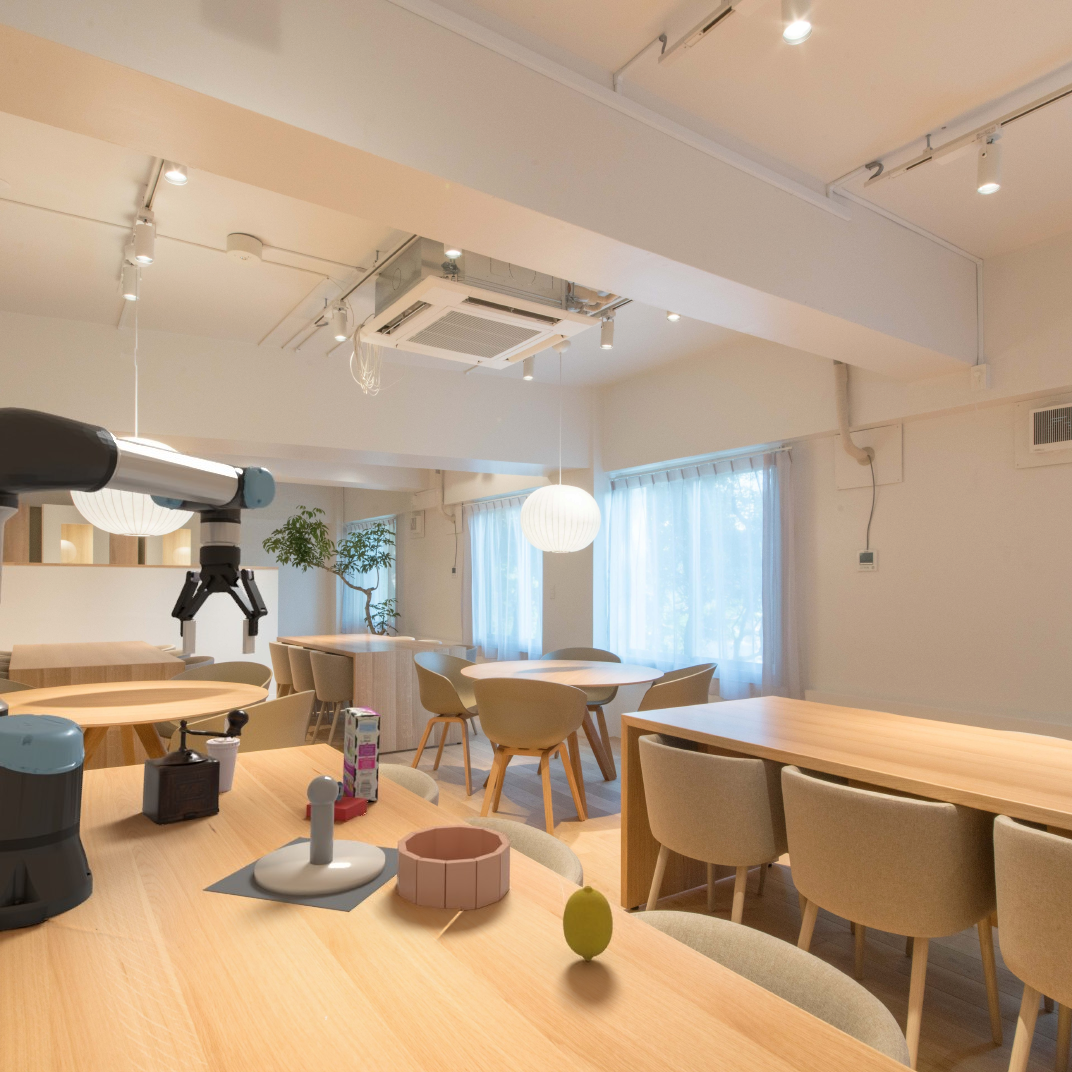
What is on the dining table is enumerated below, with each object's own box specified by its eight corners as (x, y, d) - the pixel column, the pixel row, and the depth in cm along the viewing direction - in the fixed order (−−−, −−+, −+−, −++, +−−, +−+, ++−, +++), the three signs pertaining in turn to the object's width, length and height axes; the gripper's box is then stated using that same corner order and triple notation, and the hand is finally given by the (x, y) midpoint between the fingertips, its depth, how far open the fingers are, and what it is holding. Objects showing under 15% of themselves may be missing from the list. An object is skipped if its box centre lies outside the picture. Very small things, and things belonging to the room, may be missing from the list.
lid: (343, 902, 97) (345, 798, 98) (225, 885, 102) (228, 786, 103) (406, 855, 114) (408, 766, 115) (302, 842, 119) (305, 757, 120)
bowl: (485, 917, 94) (486, 868, 95) (377, 902, 98) (378, 855, 99) (521, 873, 109) (522, 831, 109) (426, 862, 113) (426, 821, 113)
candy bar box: (379, 801, 144) (381, 714, 145) (353, 804, 142) (355, 716, 143) (366, 787, 154) (368, 705, 155) (341, 789, 152) (343, 707, 153)
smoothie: (226, 794, 147) (228, 722, 148) (196, 792, 149) (199, 720, 149) (245, 786, 154) (247, 716, 154) (216, 784, 155) (219, 715, 156)
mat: (349, 915, 95) (349, 911, 95) (202, 893, 101) (202, 889, 101) (424, 855, 116) (424, 851, 116) (299, 840, 122) (299, 837, 122)
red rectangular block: (306, 821, 133) (307, 784, 133) (328, 810, 139) (329, 775, 139) (345, 825, 130) (346, 788, 130) (366, 814, 136) (367, 778, 137)
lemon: (554, 965, 83) (554, 890, 83) (575, 944, 88) (575, 873, 88) (601, 978, 80) (601, 900, 81) (620, 955, 85) (620, 882, 85)
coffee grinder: (158, 827, 128) (162, 719, 129) (140, 812, 136) (144, 711, 137) (250, 809, 138) (253, 709, 139) (228, 796, 146) (231, 702, 148)
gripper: (286, 544, 151) (285, 652, 149) (180, 549, 157) (178, 652, 155) (264, 541, 143) (262, 654, 141) (153, 546, 150) (150, 655, 148)
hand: (218, 653), depth 148 cm, fingers open, 13 cm apart
